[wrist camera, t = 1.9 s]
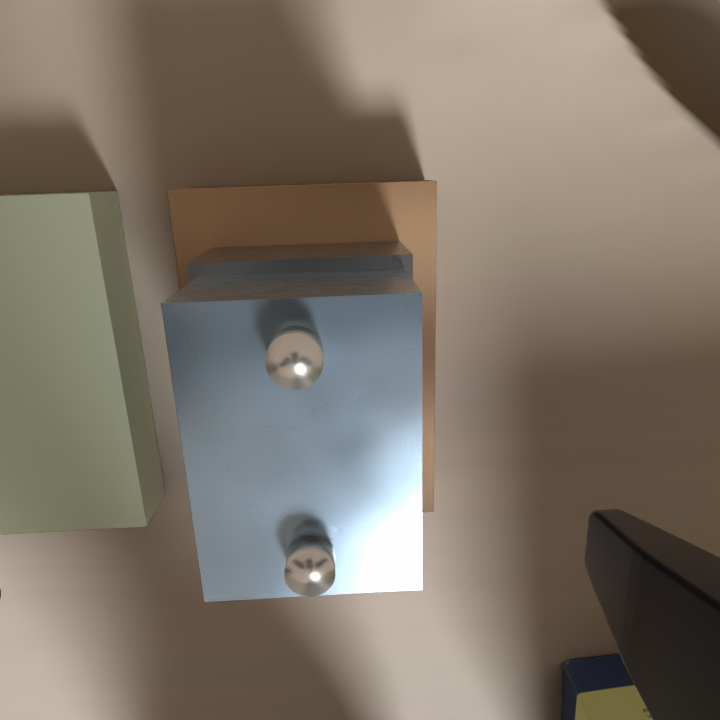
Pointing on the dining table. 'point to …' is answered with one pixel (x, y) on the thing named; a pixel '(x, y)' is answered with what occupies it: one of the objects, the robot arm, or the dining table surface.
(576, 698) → the protein box
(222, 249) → the housing
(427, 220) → the walnut stand
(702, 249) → the dining table surface
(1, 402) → the green stand
